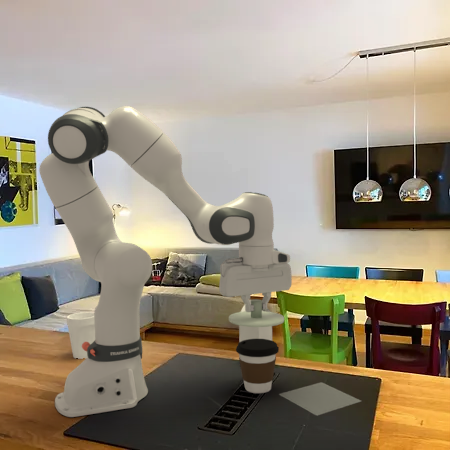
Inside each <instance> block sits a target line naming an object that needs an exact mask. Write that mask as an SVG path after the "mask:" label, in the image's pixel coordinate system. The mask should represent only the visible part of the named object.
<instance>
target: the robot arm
mask: <svg viewBox="0 0 450 450" xmlns="http://www.w3.org/2000/svg"><path fill="white" fill-rule="evenodd" d="M47 142H48V147H49V149H50V152H51V153H50V154H48V155H47V156H46V157H45V158H44V159H43V160H42V161H41V163H40V164H39V170H38V171H39V175H40V177H41V181H42V183H43V186H44V188H45V191H46V193H47V195H48V197H49V199H50V201H51V203H52V204H53V206H54V207H55V209H56V211H57V213H58V215H59V216H60V217H61V220H62V222H63V223H64V224H65V226H66V228H67V230H68V231H69V232H68V233H70V235H71V238H72V239H73V242H74V245H75V247H76V250H77V253H78V255H79V257H80V260H81V261H80V262H81V267H82V269H83V271H84V272H85V273H86V274H87V276H89V277H90V278H91V279H92V280H94V281H96V282H99V283H100V284H101V287H100V294H99V299H98V303H97V306H96V307H95V309H94V312H93V313H94V320H95V341H94V342H93V343H92V344H90V343H89V342H84V343H83V344H82V348H83V349H84V350H85V351H87V356H88V358H85V359H84V360H82V362H81V363H80V364H79V365H77V367H75V368H74V369H73V370H72V371H70V372H69V373H68V375H67V376H66V379H65V383H64V389H63V392H60V393H58V394H57V395H56V396H55V399H54V407H55V409H56V410H57V412H58V413H60V415H63V416H65V417H67V418H74V417H81V416H87V415H93V414H101V413H107V412H114V411H118V410H124V409H125V410H126V409H132V408H134V407H136V406H137V405H138V402H139V401H141V400H142V399H143V398H145V397H147V395H148V393H149V389H148V387H147V383H146V380H145V375H144V370H143V363H142V359H143V342H142V337H141V335H140V333H141V332H140V331H141V330H140V328H141V327H140V326H141V325H140V305H141V301H142V295H143V291H144V286H145V284H146V283H147V282H148V280H149V279H150V277H151V276H152V275H151V274H152V272H153V260H152V257H151V256H150V254H149V253H148V252H147V251H146V250H144V249H143V248H142V247H140V246H138V245H136V244H134V243H130V242H122V241H121V240H120V238H119V237H118V234H117V232H116V229H115V225H114V220H113V219H114V214H113V213H114V212H113V211H112V209H111V207H110V206H109V204H108V201H107V199H106V198H105V196H104V195H103V193H102V191H101V189H100V187H99V185H98V183H97V182H96V180H95V178H94V177H93V174H92V173H91V171H90V166H89V163H90V161H92V160H93V159H96V158H97V157H100V156H101V155H103V154H105V153H106V152H107V151H110V152H113V153H114V154H116V155H118V156H119V158H121V159H122V160H123V161H124V162H125V163H126V164H127V165H128V166H130V167H131V169H132V170H133V171H134V172H136V173H137V174H138V175H139V176H140V177H141V178H143V179H144V180H145V181H147V182H148V183H149V184H151V185H153V186H154V187H155V188H156V189H157V190H158V191H160V192H162V193H163V194H164V195H165V196H166V197H167V198H168V199H169V200H170V202H172V203H173V205H175V207H176V208H178V209H179V211H180V212H181V213H182V214H184V217H186V219H187V220H188V222H189V224H190V226H191V228H192V231H193V234H194V235H195V236H196V238H197V239H198V240H199V241H200V242H202V243H205V244H209V245H210V244H211V245H212V244H215V245H221V246H230V245H232V244H233V245H234V244H238V257H234V258H225V259H224V260H223V261H222V262H221V264H220V267H219V268H220V275H219V276H220V277H219V287H218V289H219V293H220V295H222V296H223V297H226V298H233V297H241V300H242V303H243V305H245V311H246V312H253V311H254V309H253V308H254V305H251V304H250V302H249V300H251V295H257V294H258V295H259V294H261V296H263V297H262V298H261V300H262V310H267V308H268V304H269V301H270V299H271V297H272V293H274V292H283V291H289V290H290V289H291V287H292V285H293V284H292V283H293V281H292V279H293V278H292V268H291V265H290V264H289V263H290V261H291V256H290V254H289V253H285V252H282V251H278V250H276V249H275V248H274V247H275V245H274V239H273V232H274V227H275V226H274V225H275V224H274V221H275V220H274V210H273V201H272V200H271V198H270V197H269V196H268V195H266V194H263V193H260V192H259V193H258V192H252V191H246V192H242V193H241V194H240V195H238V197H236V198H234V199H233V200H231V201H229V202H227V203H223V204H222V205H213V204H211V203H209V202H207V201H206V200H205V199H203V198H202V197H201V195H200V194H199V193H198V192H197V191H196V190H195V189H194V188H193V186H191V184H189V182H188V181H187V180H186V178H185V175H184V174H183V169H182V167H183V166H182V165H183V157H182V153H181V152H180V151H179V149H178V148H177V146H176V144H175V143H174V142H173V141H172V140H171V138H170V137H169V135H167V133H165V132H164V131H163V130H162V129H161V128H160V127H159V126H157V124H155V123H154V121H152V120H151V119H150V118H148V117H147V116H146V115H145V114H143V113H142V112H141V111H140V110H138V109H136V108H135V107H133V106H129V105H122V106H119V107H118V108H115V109H113V110H112V111H111V112H110V113H109V114H108V115H105V114H104V113H103V112H101V111H100V110H98V109H97V108H94V107H92V106H91V107H90V106H80V107H77V108H74V109H70V110H68V111H67V112H65V113H63V114H62V115H61V116H59V117H58V118H56V119H55V120H54V122H53V123H52V124H51V125H50V128H49V129H48V134H47ZM248 299H249V300H248Z"/></svg>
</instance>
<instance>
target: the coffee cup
mask: <svg viewBox="0 0 450 450" xmlns="http://www.w3.org/2000/svg"><path fill="white" fill-rule="evenodd" d="M279 350H280V348H279V346H278V344H277V343H276V342H275V341H273V340H272V341H271V340H267V339H248V340H243V341H241V342H238V344H237V346H236V348H235V351H236V353H237V354H238V356H239V357H238V358H239V359H238V360H239V367H240V372H241V378H242V380H243V384H244V388H245V390H246V391H247V392H249V393H253V394H264V393H268V392H270V391H271V390H272V383H273V379H274V374H275V368H276V367H275V366H276V359H277V354H278V353H279Z"/></svg>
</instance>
